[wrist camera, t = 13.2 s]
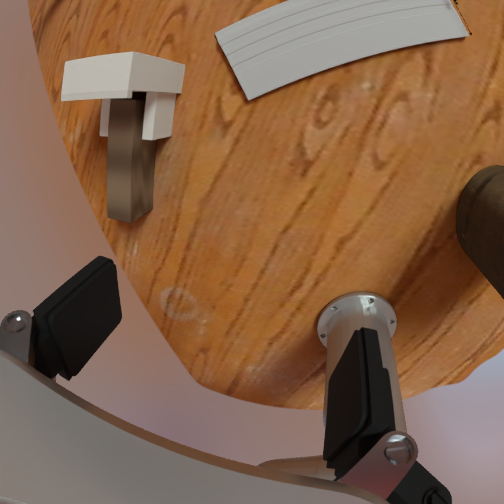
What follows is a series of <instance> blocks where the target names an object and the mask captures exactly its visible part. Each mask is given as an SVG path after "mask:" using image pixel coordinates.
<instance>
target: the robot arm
mask: <svg viewBox="0 0 504 504" xmlns="http://www.w3.org/2000/svg"><path fill="white" fill-rule="evenodd" d="M33 312H34V316H33V317H31V315H30V314H29V313H28V312H26V311H23V310H17V311H13V312H11V313H9V314H8V315H7V316H5V318H4V319H3V320H2V323H1V326H0V504H452V498H451V494H450V492H449V491H448V489H447V488H446V487H445V486H444V485H443V484H441V483H440V482H439V481H438V480H437V479H436V478H435V477H434V476H432V474H430V473H429V472H428V471H427V470H426V469H425V468H424V467H423V466H422V465H421V464H420V463H418V462H417V461H416V459H417V457H418V447H417V444H416V442H415V441H414V439H413V438H412V437H411V436H410V435H408V434H407V428H406V423H405V416H404V410H403V403H402V396H401V390H400V383H399V377H398V372H397V366H396V361H395V356H394V351H393V346H392V341H391V338H392V337H393V335H394V333H395V331H396V326H397V318H396V314H395V311H394V309H393V307H392V305H391V304H390V303H389V302H388V301H387V300H386V299H385V298H383V297H381V296H379V295H377V294H373V293H369V292H354V293H349V294H345V295H343V296H340V297H338V298H336V299H335V300H333V301H332V302H330V303H329V304H328V305H327V306H326V307H325V308H324V310H323V311H322V313H321V314H320V316H319V320H318V326H317V331H318V337H319V339H320V341H321V343H322V344H323V345H324V346H325V347H326V348H327V356H326V371H325V374H326V378H325V394H324V408H323V422H324V426H325V439H324V450H323V455H319V456H310V457H298V458H286V459H275V460H270V461H266V462H264V463H261V464H259V465H258V466H253V465H249V464H245V463H240V462H237V461H233V460H229V459H226V458H222V457H219V456H215V455H212V454H209V453H205V452H202V451H199V450H196V449H193V448H191V447H188V446H185V445H182V444H179V443H177V442H174V441H171V440H169V439H166V438H164V437H161V436H159V435H156V434H153V433H151V432H149V431H146V430H144V429H142V428H140V427H137V426H135V425H133V424H131V423H129V422H126V421H124V420H122V419H120V418H118V417H116V416H114V415H112V414H110V413H108V412H106V411H104V410H102V409H100V408H99V407H97V406H95V405H93V404H91V403H89V402H88V401H86V400H84V399H82V398H81V397H79V396H77V395H75V394H74V393H72V392H70V391H68V390H67V389H65V388H64V387H62V386H61V385H59V384H57V383H56V375H57V374H58V373H59V375H60V376H62V377H63V378H65V379H67V380H68V381H69V380H70V379H71V378H72V376H76V375H77V374H78V373H79V372H80V371H81V369H82V368H83V367H84V365H85V364H86V363H87V362H88V361H89V359H90V358H91V357H92V356H93V354H94V353H95V352H96V351H97V349H98V348H99V347H100V346H101V345H102V343H103V342H104V341H105V340H106V338H107V337H108V336H109V335H110V334H111V333H112V331H113V330H114V329H115V328H116V327H117V325H118V324H119V323H120V321H121V319H122V312H121V305H120V297H119V289H118V281H117V271H116V265H115V264H114V263H113V260H111V259H109V258H106V257H103V256H98V257H97V258H95V259H94V260H93V261H91V262H90V263H89V264H88V265H86V266H85V267H84V268H82V269H81V270H80V271H79V272H78V273H76V274H75V275H74V276H73V277H72V278H70V279H69V280H68V281H67V282H65V283H64V284H63V285H62V286H60V287H59V288H58V289H57V290H56V291H55V292H53V293H52V294H51V295H50V296H49V297H48V298H46V299H45V300H44V301H43V302H42V303H41V304H40V305H39V306H37V307H36V308H35V309H34V310H33Z"/></svg>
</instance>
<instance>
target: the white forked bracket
mask: <svg viewBox="0 0 504 504" xmlns="http://www.w3.org/2000/svg"><path fill="white" fill-rule="evenodd" d="M185 66H186V65H184V64H180V63H177V62H173V61H170V60H166V59H162V58H158V57H154V56H150V55H146V54H142V53H137V52H124V53H116V54H108V55H101V56H94V57H88V58H82V59H77V60H72V61H67V62H65V68H64V75H63V84H62V94H61V101H70V100H84V99H102V106H101V119H100V136H108V128H109V114H110V103H111V100H132V95H133V92H147V95H146V103H145V112H144V122H143V134H142V139H144V140H156V139H160V138H165V137H170V136H171V134H172V125H173V116H174V108H175V100H176V93H181V92H182V85H183V78H184V72H185Z"/></svg>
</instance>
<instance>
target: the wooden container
mask: <svg viewBox="0 0 504 504" xmlns="http://www.w3.org/2000/svg"><path fill="white" fill-rule="evenodd" d="M456 230H457V235H458V239H459V242H460V244H461V246H462V248H463V250H464V251H465V252H466V254H467V255H468V256H469V257H470V259H471V260H472V261H473V262H474V263H475V265H476V266H477V267H478V268H479V270H480V271H481V272H482V273H483V275H484V276H485V277H486V278H487V279H488V281H489V282H490V283H491V284H492V286H493V287H494V288H495V289H496V290H497V291H498V293H499V294H500V295H501V296H502V298H503V299H504V166H500V165H495V166H490V167H487V168H485V169H483V170H481V171H480V172H478V173H477V174H476V175H475V176H474V177H473V178H472V179H471V180H470V182H469V183H468V184H467V186H466V188H465V189H464V191H463V193H462V195H461V198H460V201H459V204H458V209H457V216H456Z"/></svg>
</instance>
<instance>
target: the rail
mask: <svg viewBox="0 0 504 504" xmlns="http://www.w3.org/2000/svg"><path fill="white" fill-rule="evenodd" d="M145 103H146V100H141V99H132V100H111V103H110V114H109V128H108V148H107V211H108V218H111V219H115V220H119V221H123V222H127V223H132V222H133V221H135V220H136V219H138V218H139V217H141V216H142V215H144V214H145V213H147V212H149V211H150V210H152V209H153V186H154V168H155V154H156V142H157V139H156V140H144V139H142V134H143V122H144V112H145Z"/></svg>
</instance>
